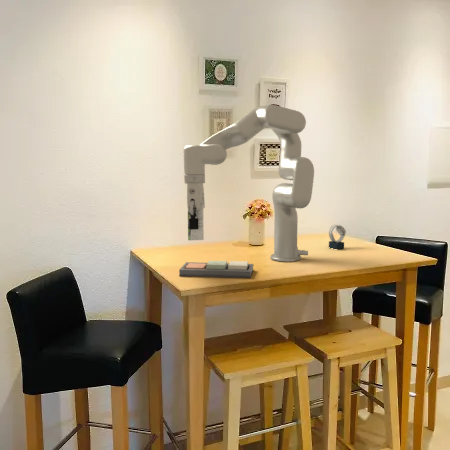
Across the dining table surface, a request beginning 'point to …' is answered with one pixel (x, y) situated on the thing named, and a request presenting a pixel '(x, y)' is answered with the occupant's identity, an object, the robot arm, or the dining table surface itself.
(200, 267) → the terracotta key
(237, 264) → the cream key
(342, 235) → the watch
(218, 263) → the sage key
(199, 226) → the syrup box
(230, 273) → the keypad board
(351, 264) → the dining table surface
